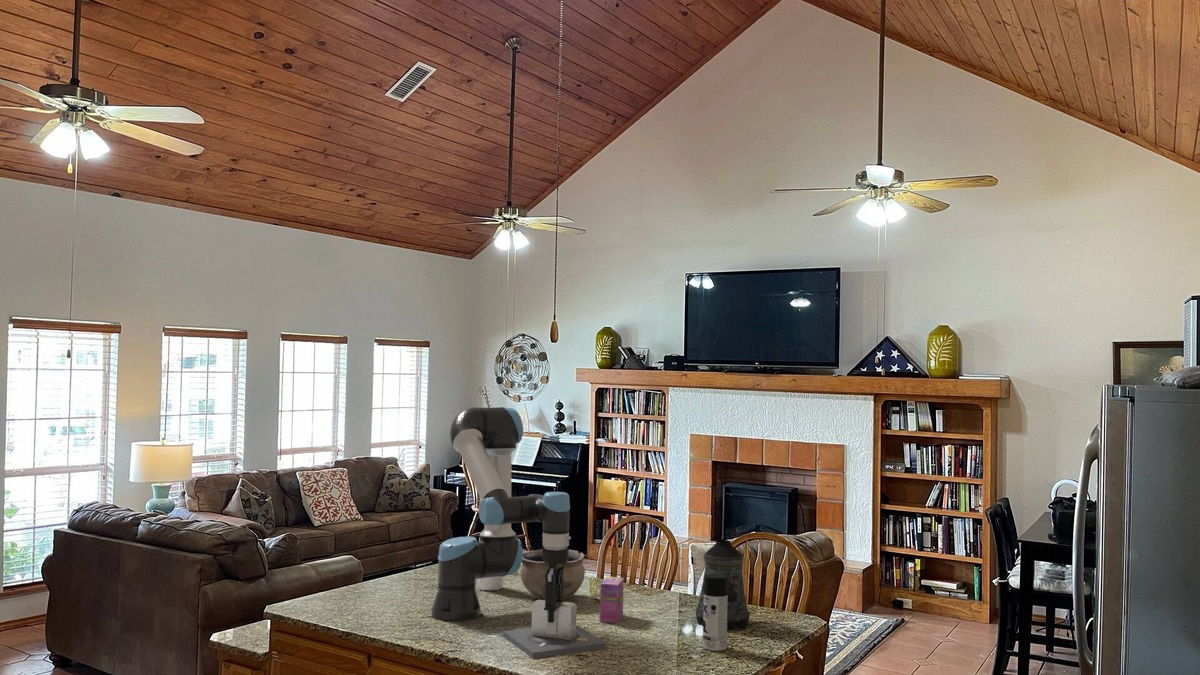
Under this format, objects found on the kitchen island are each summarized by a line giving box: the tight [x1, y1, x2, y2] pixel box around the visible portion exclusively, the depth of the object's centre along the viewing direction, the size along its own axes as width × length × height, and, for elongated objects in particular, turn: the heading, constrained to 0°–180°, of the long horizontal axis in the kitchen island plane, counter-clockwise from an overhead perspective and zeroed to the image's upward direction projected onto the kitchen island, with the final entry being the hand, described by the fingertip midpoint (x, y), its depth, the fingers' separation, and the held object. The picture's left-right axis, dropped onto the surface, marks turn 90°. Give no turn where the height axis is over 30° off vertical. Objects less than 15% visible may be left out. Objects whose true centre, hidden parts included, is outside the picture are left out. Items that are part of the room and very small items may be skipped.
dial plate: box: [502, 624, 607, 659], centre depth 250 cm, size 22×22×2 cm
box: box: [599, 576, 625, 624], centre depth 276 cm, size 10×6×12 cm, turn 168°
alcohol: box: [477, 537, 504, 592], centre depth 314 cm, size 9×9×30 cm
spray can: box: [702, 574, 728, 653], centre depth 247 cm, size 7×7×20 cm
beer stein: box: [695, 539, 751, 631], centre depth 275 cm, size 16×19×25 cm
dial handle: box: [531, 599, 578, 640], centre depth 250 cm, size 12×4×10 cm, turn 69°
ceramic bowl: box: [520, 548, 586, 601], centre depth 300 cm, size 22×22×15 cm
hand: (553, 630), depth 250 cm, fingers closed on dial handle, 5 cm apart
